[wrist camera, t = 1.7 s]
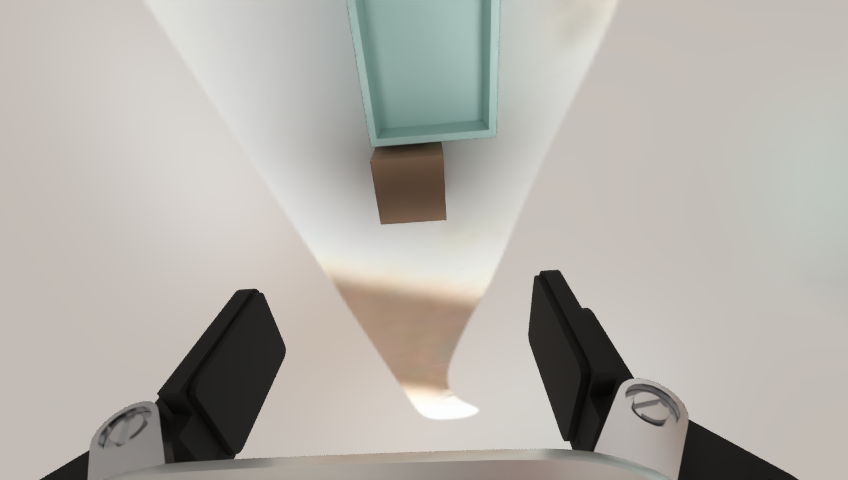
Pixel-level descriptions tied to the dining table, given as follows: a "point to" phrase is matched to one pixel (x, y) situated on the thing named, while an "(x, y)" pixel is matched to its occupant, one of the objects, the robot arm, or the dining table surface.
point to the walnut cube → (409, 182)
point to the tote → (427, 68)
